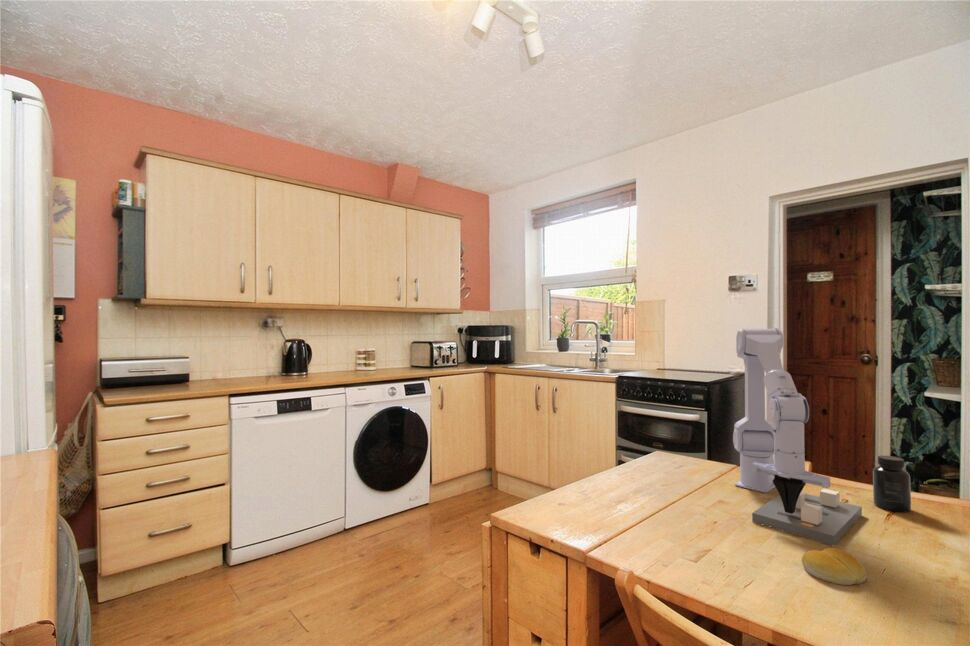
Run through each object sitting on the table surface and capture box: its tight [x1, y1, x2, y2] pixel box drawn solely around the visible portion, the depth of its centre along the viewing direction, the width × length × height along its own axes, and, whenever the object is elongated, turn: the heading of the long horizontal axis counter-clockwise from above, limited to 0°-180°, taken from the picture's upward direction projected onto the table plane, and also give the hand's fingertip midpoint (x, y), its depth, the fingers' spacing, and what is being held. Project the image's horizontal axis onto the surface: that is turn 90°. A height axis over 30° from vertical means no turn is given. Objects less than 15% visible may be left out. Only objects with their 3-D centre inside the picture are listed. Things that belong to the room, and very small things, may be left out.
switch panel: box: [751, 493, 863, 547], centre depth 104 cm, size 23×15×2 cm, turn 129°
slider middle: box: [795, 491, 806, 509], centre depth 106 cm, size 3×3×3 cm
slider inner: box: [819, 488, 840, 508], centre depth 107 cm, size 3×3×3 cm
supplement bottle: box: [872, 455, 912, 513], centre depth 110 cm, size 7×7×12 cm
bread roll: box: [801, 547, 868, 586], centre depth 81 cm, size 8×9×4 cm
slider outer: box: [801, 503, 822, 525], centre depth 98 cm, size 3×3×3 cm
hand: (789, 511), depth 101 cm, fingers closed
